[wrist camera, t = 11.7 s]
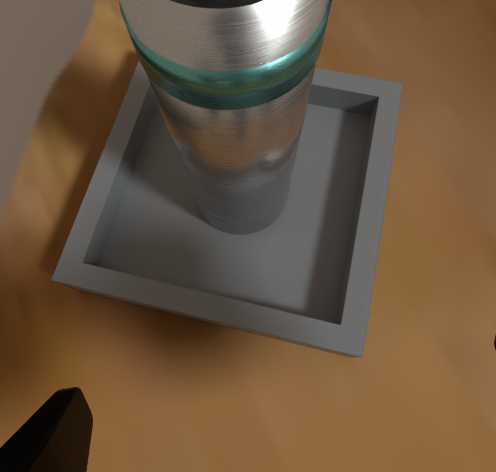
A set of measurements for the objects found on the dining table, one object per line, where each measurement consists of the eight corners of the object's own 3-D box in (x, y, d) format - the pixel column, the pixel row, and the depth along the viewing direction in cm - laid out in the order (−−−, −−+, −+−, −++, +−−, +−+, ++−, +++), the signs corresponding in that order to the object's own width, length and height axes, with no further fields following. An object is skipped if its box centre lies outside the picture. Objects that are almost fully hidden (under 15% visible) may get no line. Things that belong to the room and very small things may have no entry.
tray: (349, 357, 17) (362, 357, 15) (73, 288, 18) (51, 279, 16) (389, 107, 21) (403, 80, 19) (159, 63, 22) (149, 34, 20)
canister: (302, 219, 18) (405, -72, 6) (206, 247, 18) (101, 0, 6) (272, 136, 20) (303, -241, 7) (182, 161, 19) (55, -193, 7)
